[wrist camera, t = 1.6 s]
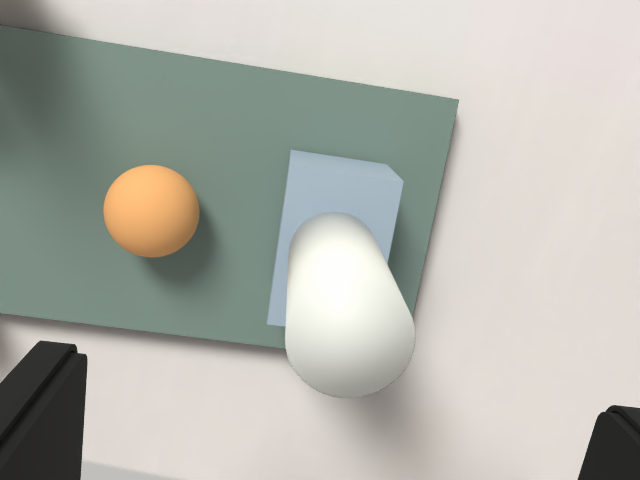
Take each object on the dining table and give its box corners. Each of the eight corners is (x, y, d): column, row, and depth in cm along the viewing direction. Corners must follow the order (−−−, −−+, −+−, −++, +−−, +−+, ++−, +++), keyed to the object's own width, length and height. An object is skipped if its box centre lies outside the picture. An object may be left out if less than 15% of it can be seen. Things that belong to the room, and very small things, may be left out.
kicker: (386, 164, 24) (456, 234, 14) (361, 298, 26) (406, 453, 15) (290, 149, 24) (286, 209, 14) (271, 286, 26) (253, 436, 15)
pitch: (451, 98, 25) (459, 99, 24) (398, 351, 28) (402, 363, 27) (-20, 21, 24) (-36, 19, 23) (-21, 298, 27) (-35, 308, 26)
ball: (210, 165, 24) (195, 181, 21) (201, 248, 25) (186, 276, 22) (121, 152, 24) (92, 166, 21) (116, 236, 25) (87, 262, 22)
